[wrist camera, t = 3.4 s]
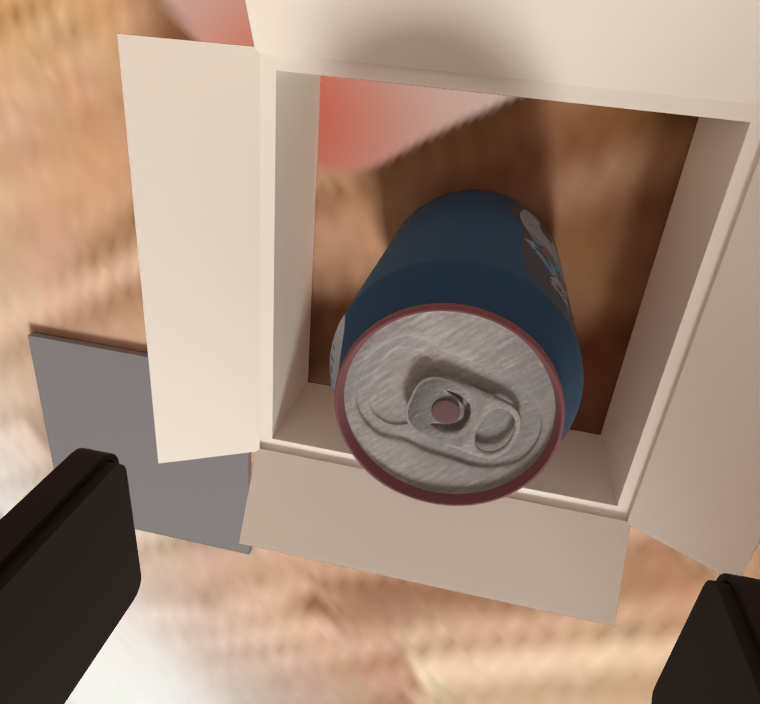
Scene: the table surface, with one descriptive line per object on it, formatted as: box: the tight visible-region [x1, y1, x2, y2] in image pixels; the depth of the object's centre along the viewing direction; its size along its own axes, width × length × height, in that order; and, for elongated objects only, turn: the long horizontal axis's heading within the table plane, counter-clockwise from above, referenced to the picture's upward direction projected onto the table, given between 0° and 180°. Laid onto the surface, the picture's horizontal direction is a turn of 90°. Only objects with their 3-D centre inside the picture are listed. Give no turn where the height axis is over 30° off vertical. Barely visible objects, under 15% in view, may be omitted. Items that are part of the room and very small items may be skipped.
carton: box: [117, 0, 760, 627], centre depth 22 cm, size 22×22×7 cm
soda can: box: [330, 190, 584, 506], centre depth 20 cm, size 7×7×12 cm
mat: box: [28, 332, 252, 554], centre depth 33 cm, size 12×12×1 cm
